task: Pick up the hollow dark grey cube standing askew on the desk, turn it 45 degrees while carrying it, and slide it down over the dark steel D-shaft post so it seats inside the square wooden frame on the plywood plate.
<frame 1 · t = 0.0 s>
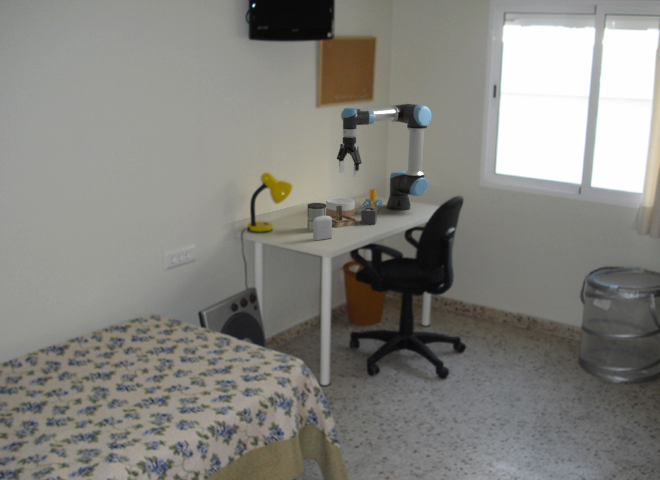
hand: (348, 174, 380), 28 cm above the table, fingers open, 13 cm apart
orange tube with rings: (372, 214, 408), on the table
coffee can: (316, 230, 371), on the table
hollow dark grey cube: (368, 222, 387), on the table
bowl: (340, 214, 408), on the table
photo printer: (322, 239, 354), on the table
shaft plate: (339, 223, 386), on the table
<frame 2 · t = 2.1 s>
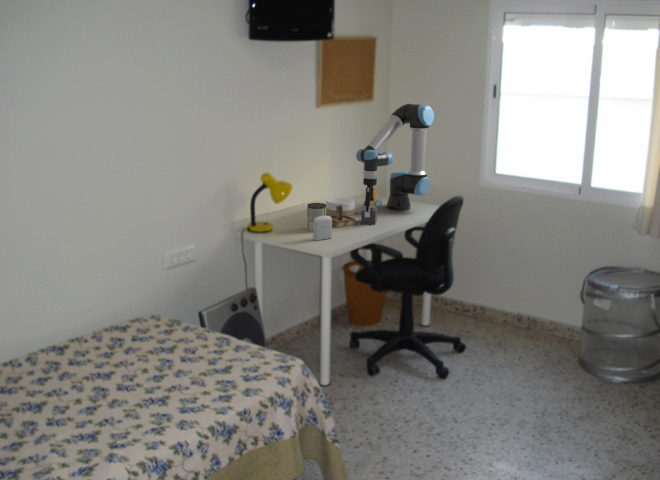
hand: (368, 214, 386), 5 cm above the table, fingers open, 13 cm apart
nothing on the table moved.
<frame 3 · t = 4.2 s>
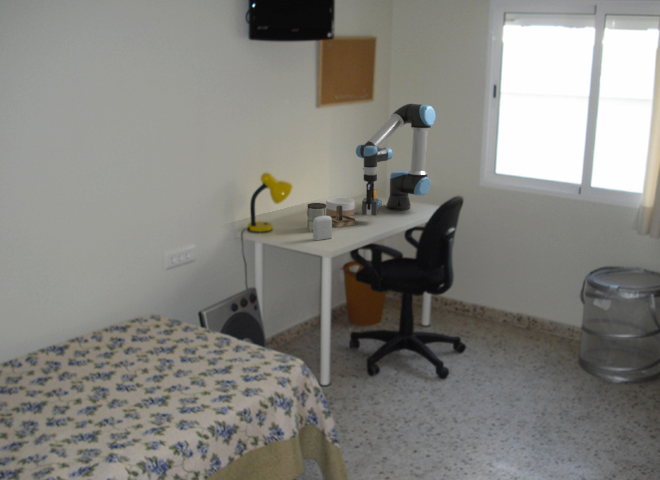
hand: (369, 212, 386), 6 cm above the table, fingers closed on hollow dark grey cube, 8 cm apart
hollow dark grey cube: (369, 213, 386), point 5 cm above the table, touching gripper
everything else where it was.
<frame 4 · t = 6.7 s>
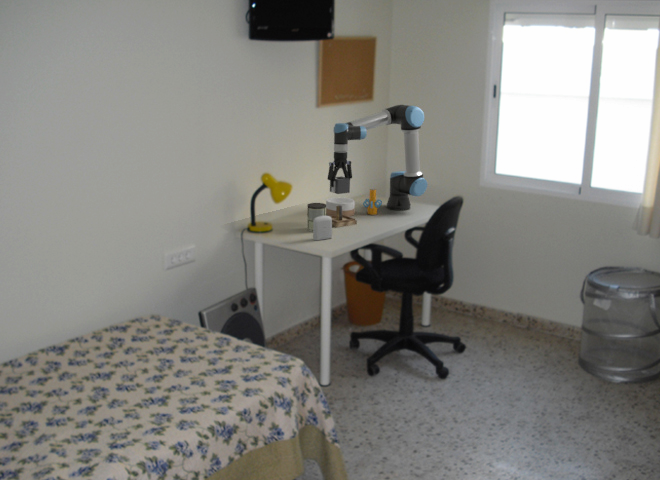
hand: (339, 191, 380), 18 cm above the table, fingers closed on hollow dark grey cube, 8 cm apart
hollow dark grey cube: (339, 192, 380), point 18 cm above the table, touching gripper
everything else where it was.
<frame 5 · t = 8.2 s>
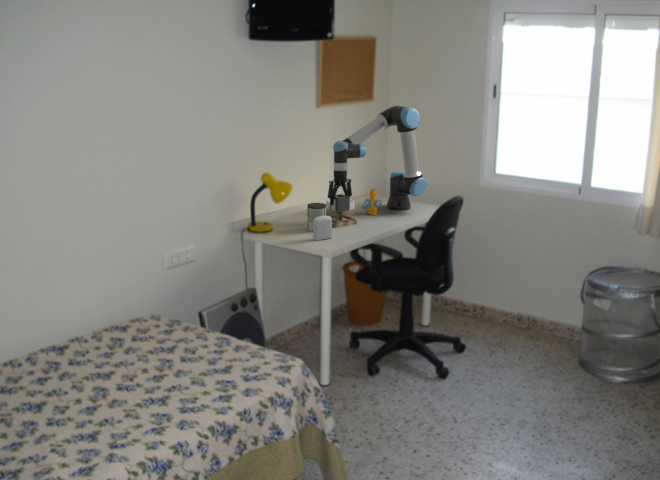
hand: (339, 209, 383), 8 cm above the table, fingers closed on hollow dark grey cube, 8 cm apart
hollow dark grey cube: (339, 209, 383), point 8 cm above the table, touching gripper
everything else where it was.
when the fingers open (4 cm above the table, at t = 9.4 s): hollow dark grey cube drops 2 cm, resting on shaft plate.
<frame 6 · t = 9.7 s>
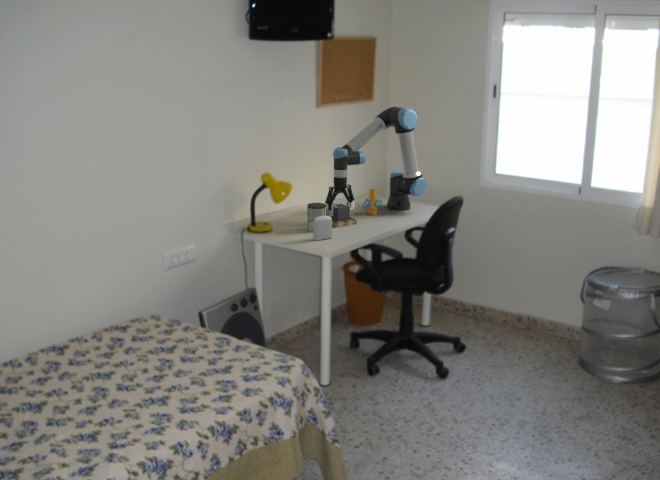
hand: (339, 214, 384), 5 cm above the table, fingers open, 11 cm apart
hollow dark grey cube: (339, 219, 385), point 2 cm above the table, touching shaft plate
everything else where it was.
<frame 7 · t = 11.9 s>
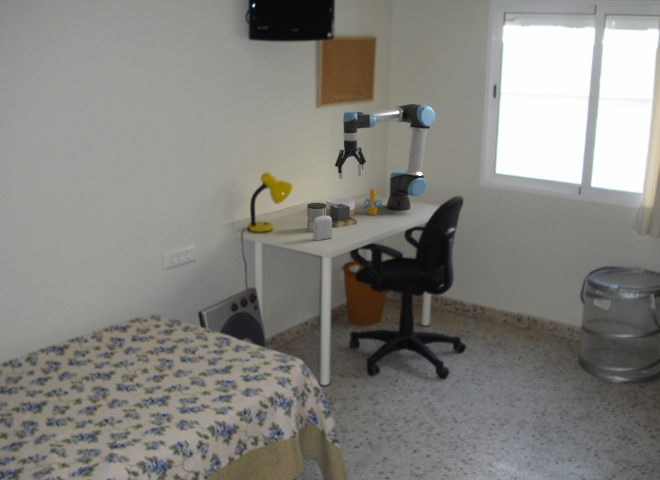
hand: (350, 177, 385), 25 cm above the table, fingers open, 13 cm apart
nothing on the table moved.
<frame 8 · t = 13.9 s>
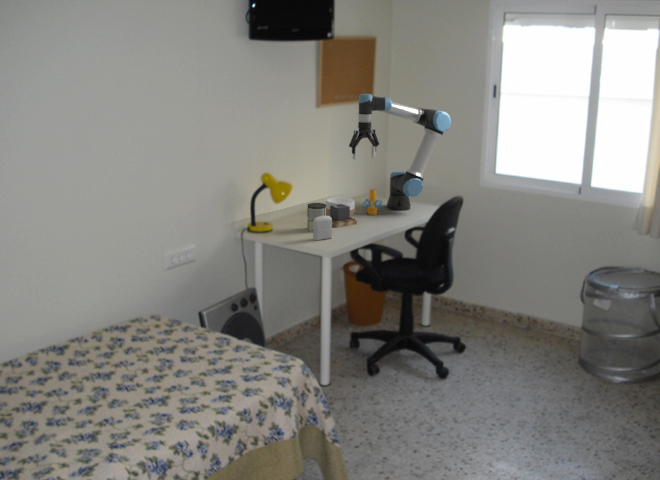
hand: (363, 158, 392), 35 cm above the table, fingers open, 13 cm apart
nothing on the table moved.
at the end: hollow dark grey cube 0.1 cm off-centre on the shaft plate, point 2.0 cm above the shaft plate's base; hollow dark grey cube tilted 0°; the gripper is holding nothing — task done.
